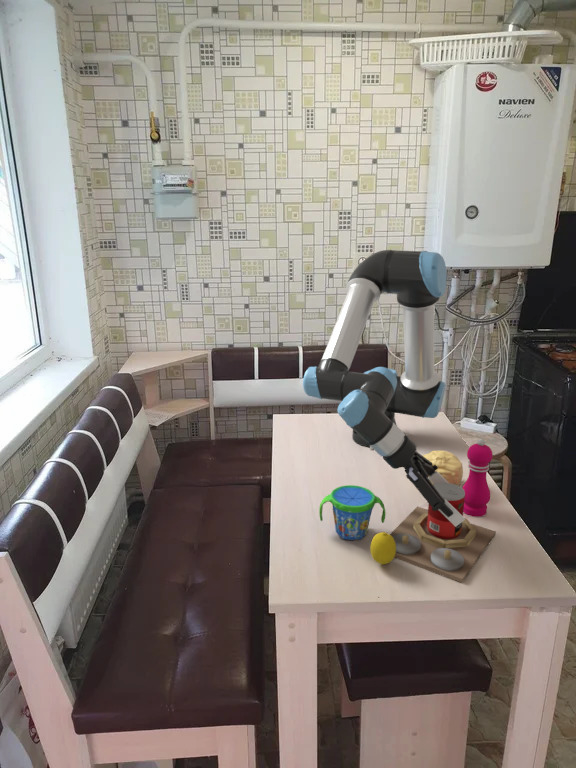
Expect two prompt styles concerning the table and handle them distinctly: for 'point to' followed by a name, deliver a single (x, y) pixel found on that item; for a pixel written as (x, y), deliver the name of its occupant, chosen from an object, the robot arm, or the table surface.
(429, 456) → the sculpture
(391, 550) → the lemon
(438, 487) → the canned food
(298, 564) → the table surface
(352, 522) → the snack cup
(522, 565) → the table surface
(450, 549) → the board
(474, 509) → the pepper mill
